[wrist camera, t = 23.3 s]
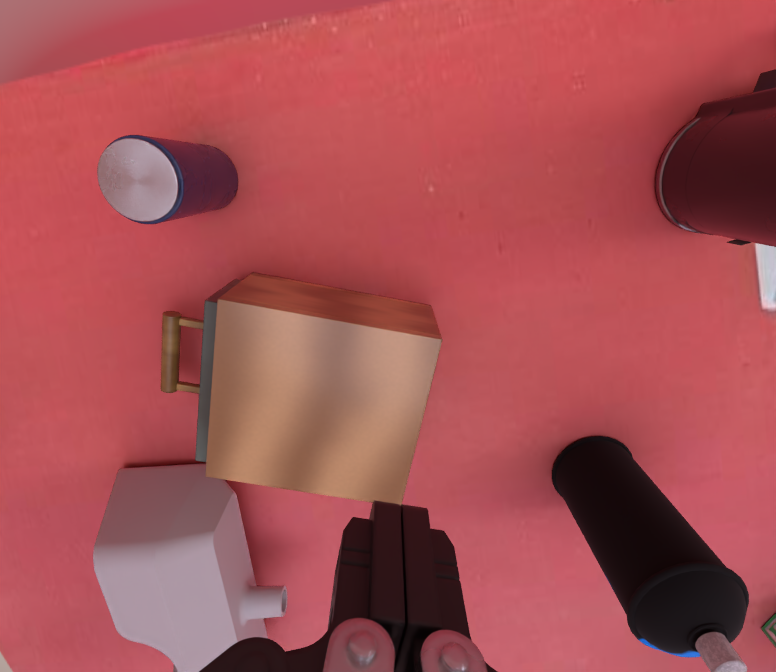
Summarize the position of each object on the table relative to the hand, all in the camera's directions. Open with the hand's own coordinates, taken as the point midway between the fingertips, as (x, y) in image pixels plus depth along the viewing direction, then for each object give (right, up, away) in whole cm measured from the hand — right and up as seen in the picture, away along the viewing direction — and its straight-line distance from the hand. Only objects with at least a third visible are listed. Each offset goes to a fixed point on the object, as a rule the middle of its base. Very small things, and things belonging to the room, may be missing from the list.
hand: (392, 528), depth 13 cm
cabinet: (-5, +3, +30) cm, 30 cm away
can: (-15, +18, +24) cm, 34 cm away
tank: (-18, -19, +38) cm, 46 cm away
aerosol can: (+21, -8, +34) cm, 41 cm away
